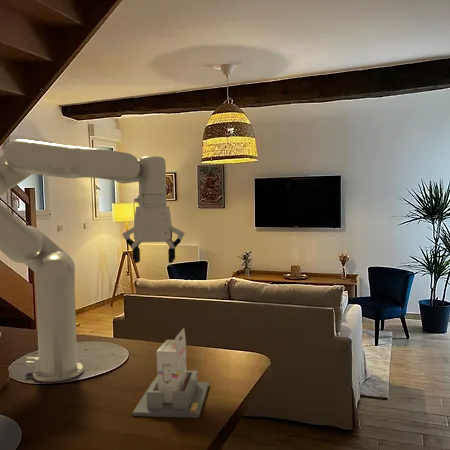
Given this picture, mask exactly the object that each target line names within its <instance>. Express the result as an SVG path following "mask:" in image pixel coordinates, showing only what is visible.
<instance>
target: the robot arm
mask: <svg viewBox="0 0 450 450" xmlns="http://www.w3.org/2000/svg"><path fill="white" fill-rule="evenodd" d="M166 166H167V163H166V159H165V158H164V157H162V156H158V155H157V156H156V155H150V156H149V155H148V156H142V157H140V158H137V157H136V156H135V155H134V154H131V153H128V152H124V151H118V150H110V149H102V148H94V147H92V148H91V147H83V146H74V145H65V144H59V143H51V142H44V141H35V140H29V139H21V138H20V139H12V140H11V141H9V142H8V143H7V144H6V145H5V147H4V149H3V154H2V155H1V156H0V197H1V196H2V195H4V194H5V193H7V192H9V191H10V190H12V188H14V187H16V186H18V184H20V183H22V182H23V181H25V180H26V179H27V178H29V177H30V176H32V175H36V176H37V175H39V176H47V177H54V178H55V177H57V178H63V179H81V178H89V179H90V178H92V179H101V180H110V181H115V182H117V183H119V184H122V185H123V184H132V183H138V195H137V196H136V197H134V198H133V201H134V203H137V204H138V206H135V210H134V211H135V212H134V221H133V227H132V228H130V229H128V230H126V231H124V232H123V233H122V236H123V238H124V240H125V242H126V244H128V246H129V247H130V248H131V249H132V260H134V261H133V262H134V264H138V263H140V262H141V249H140V248H139V246H140V245H141V244H142V243H166V244H167V245H168V247H169V248H168V256H167V257H168V263H169V264H172V263H174V261H175V260H176V248H177V246H178V245H179V244H180V243H181V242H182V240H183V238H184V236H185V232H184V231H182V230H180V229H178V228H177V227H174V226H173V224H172V215H171V210H170V206H169V205H167V171H166V169H167V167H166ZM173 233H174V234H176V236H177V237H176V239H175V240H173ZM132 234H133V239H132V237H131V235H132ZM0 251H1V252H2V254H4V255H5V256H7V257H8V258H9V259H10V260H11V261H13V262H15V263H18V264H24V265H25V266H27V267H28V268H29V269H30V270H31V271H33V272H34V286H35V287H34V289H35V300H36V301H35V302H36V318H37V319H36V322H37V347H38V349H37V352H38V356H36V357H35V356H27V357H26V359H25V367H29V368H30V367H34V370H33V372H32V379H34V380H36V381H38V382H45V383H55V382H56V383H57V382H61V381H67V380H70V379H72V378H76V377H78V376H79V375H81V374H82V373H83V371H84V364H82V363H81V362H78V352H77V351H78V349H77V345H78V344H77V319H76V318H77V317H76V316H77V313H76V295H75V294H76V291H75V290H76V288H75V286H76V285H75V282H76V281H75V280H76V279H75V277H76V276H75V275H76V266H75V262H74V260H73V258H72V257H71V256H70V255H69V254H68V253H67V251H64V250H63V249H62V248H61V247H60V246H59V245H57V244H56V243H55V241H53V240H52V239H50V237H48V236H47V235H46V234H45V233H43V232H42V231H41V230H40V229H38V228H37V227H34V226H32V225H27V224H25V223H24V222H22V221H21V220H20V219H19V218H17V216H15V215H14V214H13V213H12V212H11V211H10V210H9V209H8V208H6V207H5V206H4V205H2V204H1V203H0Z"/></svg>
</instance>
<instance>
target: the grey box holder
mask: <svg viewBox="0 0 450 450" xmlns="http://www.w3.org/2000/svg"><path fill="white" fill-rule="evenodd" d="M186 374H187V386H186V388H185V391H173V393H172V402H173V403H163V391H158V377H157V376H156V377H155V378H154V380H152V382H151V383H150V385H149V386H148V388H147V389H146V390H145V392H144V394H143V396H142V397H141V399H140V400H139V402H138V403H137V405H136V406H135V408H134V410H133V411H132V416H133V417H152V418H153V417H163V418H188V419H189V418H190V419H191V418H194V419H195V418H196V419H197V418H198V419H199V417H200V416H201V411H202V409H203V404H204V403H205V399H206V396H207V393H208V389H209V387H210V382H209V381H198V380H199V379H198V370H186Z"/></svg>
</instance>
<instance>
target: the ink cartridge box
mask: <svg viewBox="0 0 450 450" xmlns="http://www.w3.org/2000/svg"><path fill="white" fill-rule="evenodd" d="M155 352H156V370H157V371H156V372H157V374H156V377H158V391H163V403H173V402H172V393H173V391H185V388H186V386H187V374H186V371H187V340H186V331H185V328H182V329H181V330H180V332H178V334H177V335H176V337H175V338H174V339H166V340H165V341H164V342H163V343H162V344H161V345H160V346H159V347H158V349H157V350H156V351H155Z"/></svg>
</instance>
